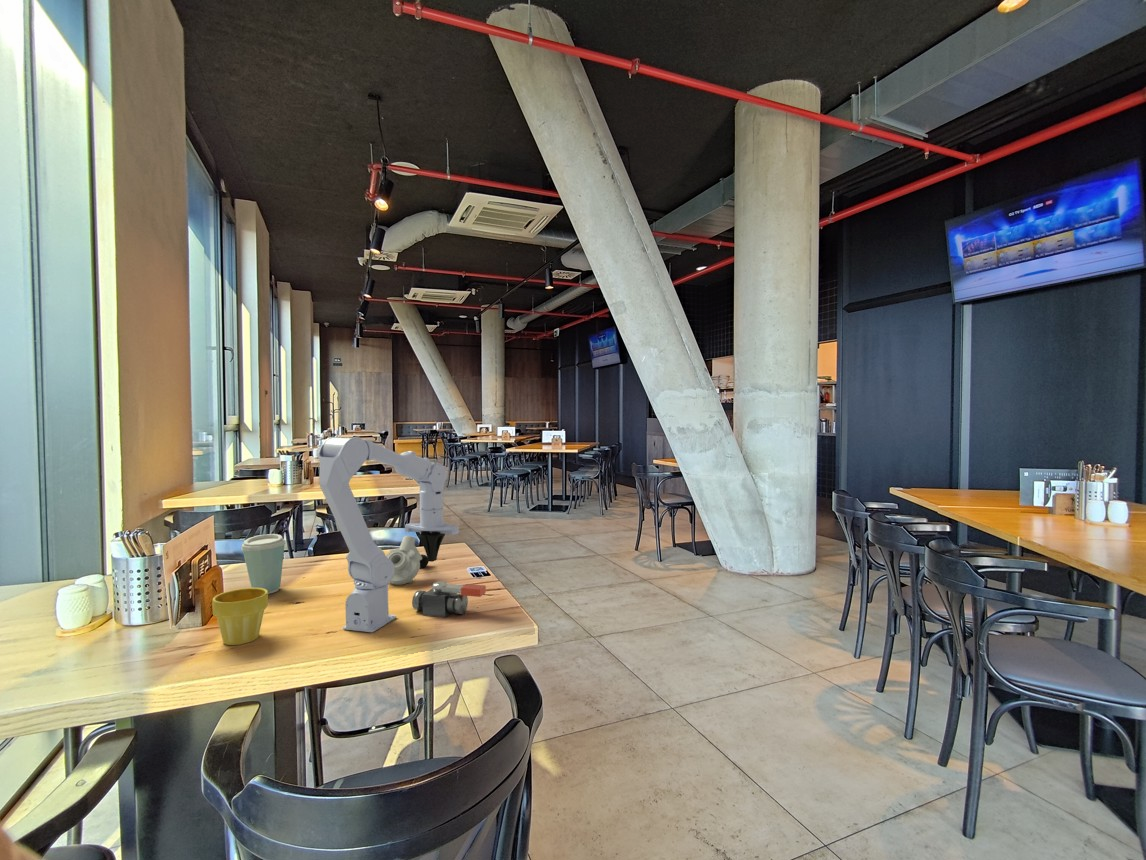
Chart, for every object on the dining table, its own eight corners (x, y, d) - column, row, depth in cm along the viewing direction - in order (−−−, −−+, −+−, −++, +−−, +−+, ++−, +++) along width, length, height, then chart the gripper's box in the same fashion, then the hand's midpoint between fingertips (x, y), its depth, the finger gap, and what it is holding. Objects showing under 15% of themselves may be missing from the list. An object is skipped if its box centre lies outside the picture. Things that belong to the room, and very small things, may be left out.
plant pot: (278, 629, 123) (277, 586, 123) (251, 649, 113) (250, 602, 113) (232, 629, 123) (231, 587, 123) (201, 649, 113) (200, 603, 113)
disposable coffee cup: (284, 595, 147) (282, 539, 146) (238, 600, 143) (236, 543, 142) (289, 583, 157) (287, 532, 156) (246, 588, 153) (244, 535, 152)
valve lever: (430, 592, 132) (430, 585, 132) (437, 588, 135) (437, 581, 135) (480, 597, 128) (480, 589, 128) (485, 592, 131) (485, 584, 131)
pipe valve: (457, 618, 128) (457, 597, 128) (410, 613, 132) (410, 593, 132) (469, 609, 134) (468, 589, 134) (423, 605, 138) (423, 585, 138)
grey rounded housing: (426, 605, 165) (440, 559, 174) (407, 578, 150) (423, 529, 159) (394, 601, 167) (410, 556, 176) (372, 574, 151) (390, 526, 160)
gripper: (464, 506, 143) (464, 558, 143) (415, 504, 147) (416, 554, 147) (450, 511, 136) (451, 565, 136) (400, 509, 140) (401, 561, 140)
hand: (432, 560), depth 141 cm, fingers closed
